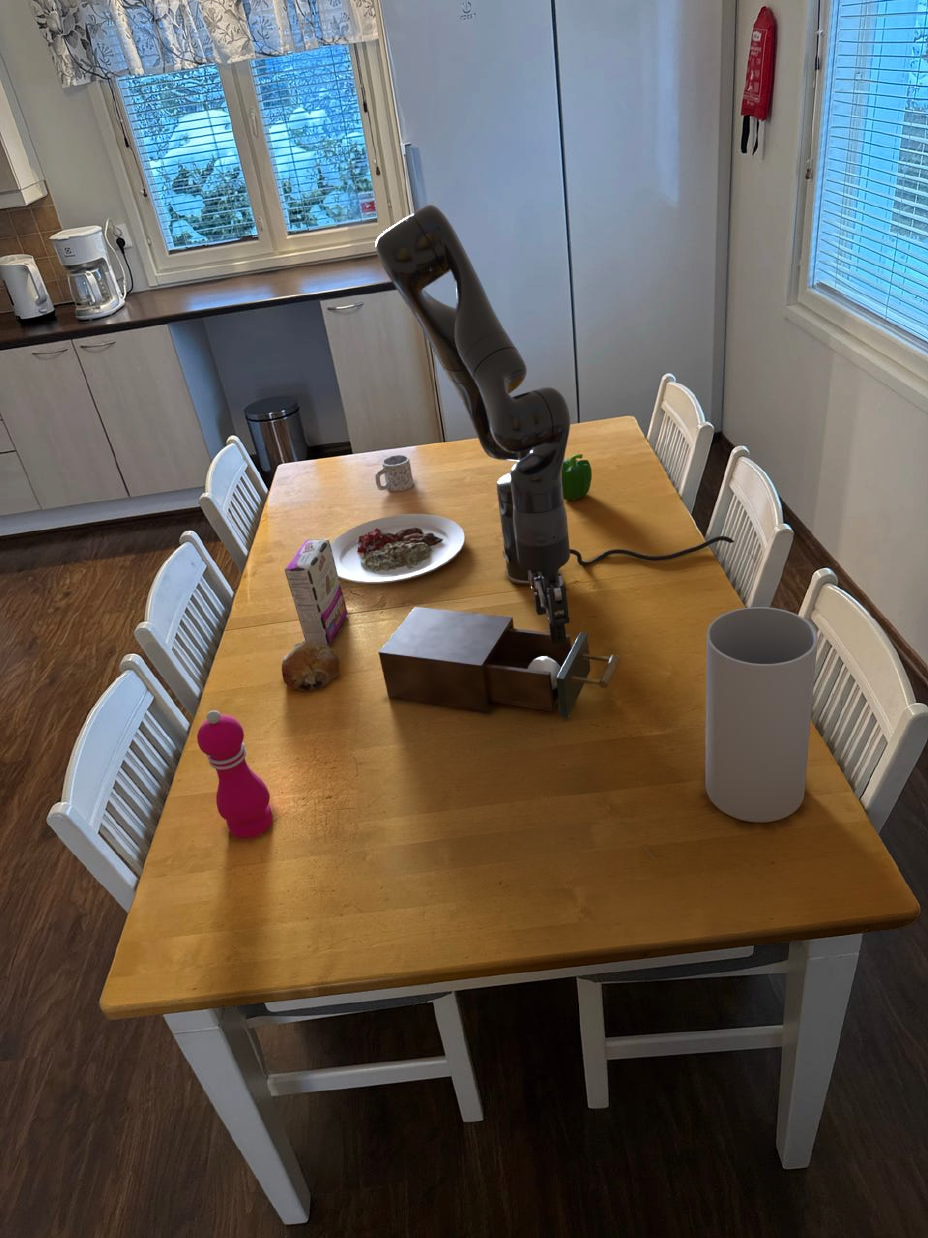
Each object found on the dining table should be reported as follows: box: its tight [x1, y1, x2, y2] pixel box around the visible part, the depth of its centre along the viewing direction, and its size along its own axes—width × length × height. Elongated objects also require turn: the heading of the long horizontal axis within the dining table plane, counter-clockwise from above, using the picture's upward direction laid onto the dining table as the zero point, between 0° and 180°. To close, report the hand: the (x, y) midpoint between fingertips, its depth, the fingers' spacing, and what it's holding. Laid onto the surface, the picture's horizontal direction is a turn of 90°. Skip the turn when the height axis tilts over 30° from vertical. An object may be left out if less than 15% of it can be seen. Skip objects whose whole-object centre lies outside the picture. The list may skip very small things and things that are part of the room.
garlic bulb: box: [528, 656, 561, 690], centre depth 141 cm, size 6×6×5 cm
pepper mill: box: [196, 709, 274, 840], centre depth 123 cm, size 7×7×20 cm
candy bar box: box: [284, 538, 349, 646], centre depth 166 cm, size 11×5×16 cm, turn 168°
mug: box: [374, 454, 414, 492], centre depth 221 cm, size 10×7×7 cm
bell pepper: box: [561, 453, 593, 501], centre depth 202 cm, size 8×8×10 cm
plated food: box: [330, 513, 466, 584], centre depth 192 cm, size 30×30×3 cm
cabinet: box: [378, 606, 515, 715], centre depth 149 cm, size 18×14×9 cm
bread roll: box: [281, 641, 340, 692], centre depth 157 cm, size 10×10×8 cm
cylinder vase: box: [704, 606, 819, 824], centre depth 114 cm, size 12×12×25 cm
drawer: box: [484, 627, 621, 719], centre depth 142 cm, size 22×13×7 cm, turn 67°
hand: (550, 627), depth 137 cm, fingers open, 8 cm apart
